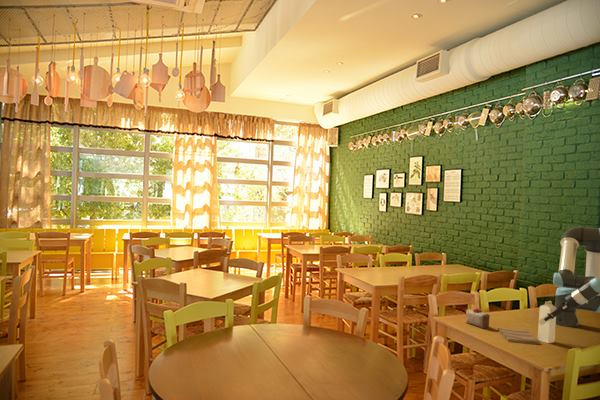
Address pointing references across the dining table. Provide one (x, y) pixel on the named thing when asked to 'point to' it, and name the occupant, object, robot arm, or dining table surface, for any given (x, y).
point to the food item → (477, 318)
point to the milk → (547, 323)
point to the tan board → (518, 336)
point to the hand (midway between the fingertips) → (542, 320)
